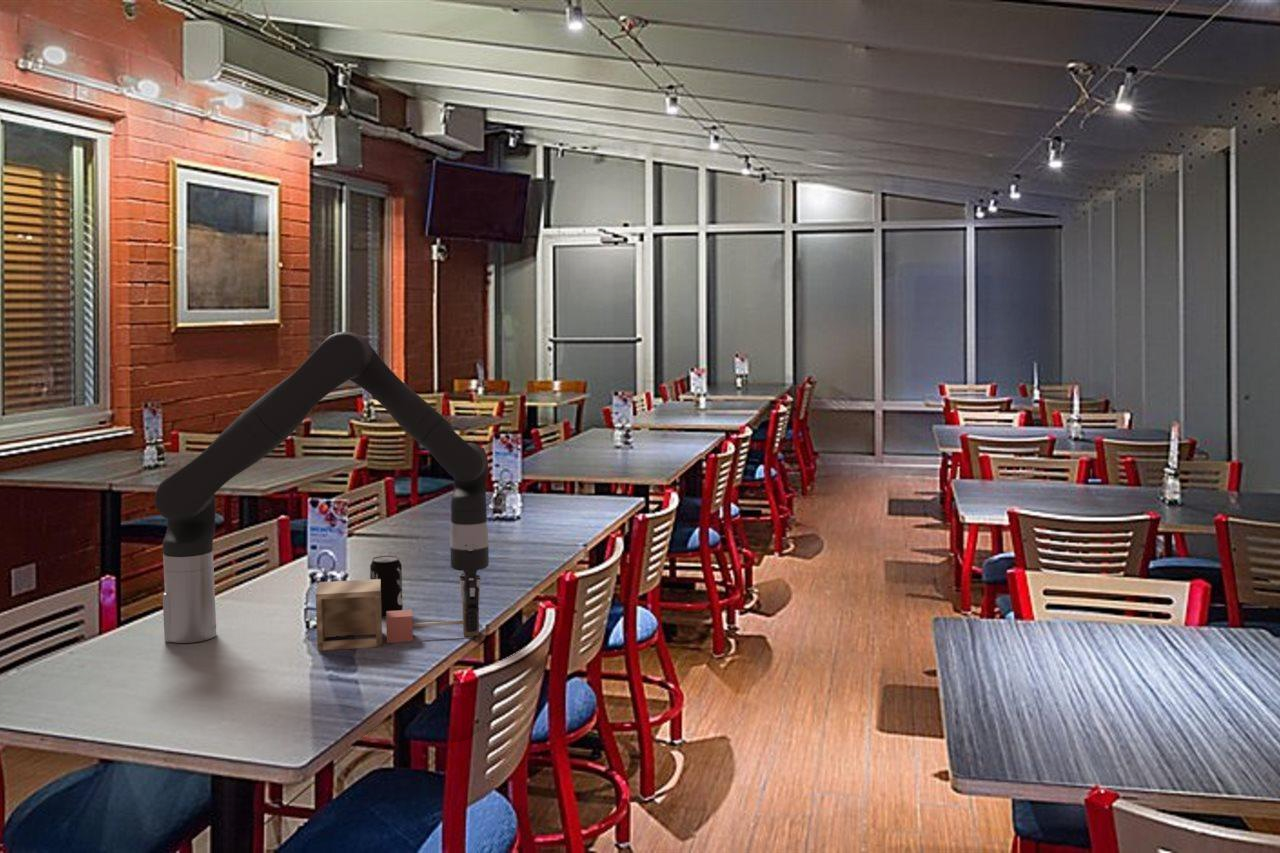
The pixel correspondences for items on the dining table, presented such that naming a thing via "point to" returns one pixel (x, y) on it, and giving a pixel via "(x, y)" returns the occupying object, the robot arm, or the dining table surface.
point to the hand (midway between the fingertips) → (470, 628)
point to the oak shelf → (348, 613)
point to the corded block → (417, 625)
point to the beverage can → (388, 581)
